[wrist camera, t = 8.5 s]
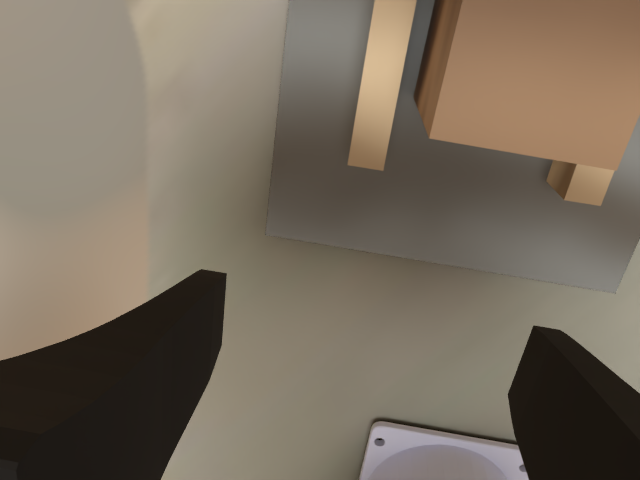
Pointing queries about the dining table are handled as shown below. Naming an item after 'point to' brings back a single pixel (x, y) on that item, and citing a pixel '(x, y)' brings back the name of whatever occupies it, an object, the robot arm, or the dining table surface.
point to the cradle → (427, 164)
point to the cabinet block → (533, 77)
